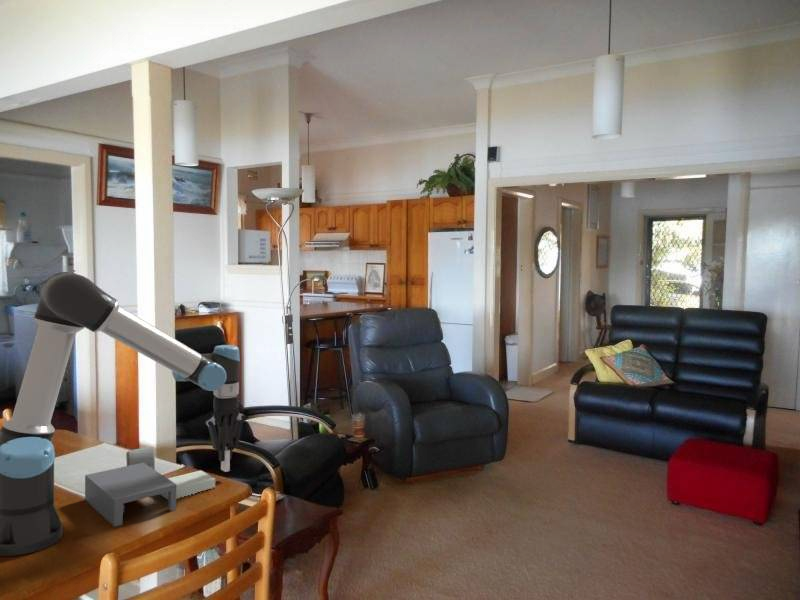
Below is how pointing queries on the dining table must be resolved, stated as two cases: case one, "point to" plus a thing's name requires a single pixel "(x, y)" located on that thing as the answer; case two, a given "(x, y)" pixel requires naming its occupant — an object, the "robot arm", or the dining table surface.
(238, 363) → the robot arm
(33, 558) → the dining table surface
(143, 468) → the low shelf
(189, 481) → the ribbed white block
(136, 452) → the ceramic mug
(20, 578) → the dining table surface
